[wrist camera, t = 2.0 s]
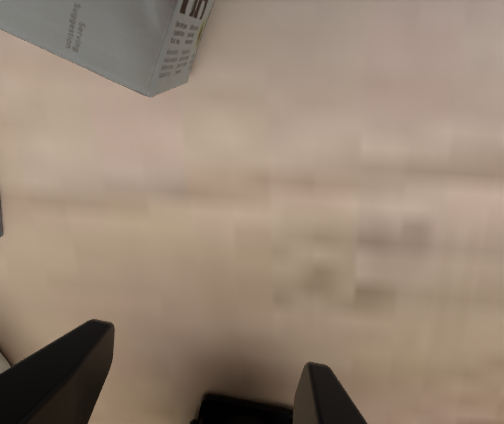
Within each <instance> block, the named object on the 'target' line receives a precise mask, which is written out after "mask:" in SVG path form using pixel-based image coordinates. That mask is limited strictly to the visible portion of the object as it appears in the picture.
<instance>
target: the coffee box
mask: <svg viewBox="0 0 504 424" xmlns="http://www.w3.org/2000/svg"><path fill="white" fill-rule="evenodd" d="M213 2H214V0H0V29H1V30H3V31H5V32H8V33H10V34H12V35H14V36H16V37H18V38H20V39H23V40H25V41H27V42H30V43H32V44H34V45H36V46H38V47H40V48H42V49H45V50H47V51H49V52H51V53H53V54H55V55H58V56H60V57H62V58H64V59H66V60H69V61H71V62H73V63H75V64H77V65H80V66H82V67H84V68H86V69H88V70H90V71H92V72H94V73H97V74H99V75H101V76H103V77H105V78H107V79H109V80H111V81H114V82H116V83H118V84H120V85H122V86H125V87H127V88H129V89H131V90H133V91H135V92H138V93H140V94H142V95H145V96H148V97H153V96H155V95H158V94H160V93H163V92H165V91H168V90H170V89H172V88H175V87H177V86H179V85H182V84H185V83H187V82H188V78H189V73H190V70H191V66H192V63H193V60H194V57H195V54H196V51H197V47H198V44H199V41H200V38H201V35H202V32H203V29H204V26H205V24H206V21H207V18H208V16H209V13H210V10H211V8H212V5H213Z"/></svg>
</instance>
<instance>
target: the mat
mask: <svg viewBox="0 0 504 424" xmlns="http://www.w3.org/2000/svg"><path fill="white" fill-rule="evenodd" d="M1 236H3V230H2V217H1V205H0V237H1Z"/></svg>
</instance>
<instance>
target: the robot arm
mask: <svg viewBox="0 0 504 424" xmlns="http://www.w3.org/2000/svg"><path fill="white" fill-rule="evenodd" d="M114 332H115V328H114V325H113V324H112V323H111V322H107V321H102V320H97V319H92V320H89V321H87V322H85V323H84V324H82V325H80V326H79V327H77V328H75V329H74V330H72V331H70V332H69V333H67V334H65V335H64V336H62V337H60V338H59V339H57V340H55V341H54V342H52V343H50V344H49V345H47V346H45V347H44V348H42V349H40V350H39V351H37V352H35V353H34V354H32V355H30V356H29V357H27V358H25V359H24V360H22V361H20V362H19V363H17V364H15V365H14V366H12V367H10V368H9V369H7V370H5V371H4V372H2V373H0V424H88V421H89V419H90V416H91V414H92V411H93V409H94V406H95V404H96V401H97V399H98V397H99V394H100V392H101V389H102V387H103V384H104V382H105V379H106V377H107V375H108V372H109V370H110V367H111V363H112V359H113V348H114ZM190 424H367V422H366V421H365V419H364V418H363V416H362V415H361V413H360V412H359V410H358V409H357V407H356V406H355V404H354V403H353V401H352V400H351V398H350V397H349V395H348V394H347V392H346V391H345V389H344V388H343V386H342V385H341V383H340V382H339V380H338V379H337V377H336V376H335V374H334V373H333V371H332V370H331V369H330V367H328V366H327V365H324V364H319V363H314V362H308V363H306V364H305V366H304V369H303V372H302V375H301V378H300V381H299V384H298V387H297V390H296V393H295V398H294V408H293V410H290V409H285V408H279V407H274V406H269V405H264V404H259V403H254V402H249V401H244V400H239V399H233V398H228V397H223V396H218V395H213V394H206V395H204V396H203V398H202V402H201V406H200V412H199V417H198V419H193V420H192V421H190Z"/></svg>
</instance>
